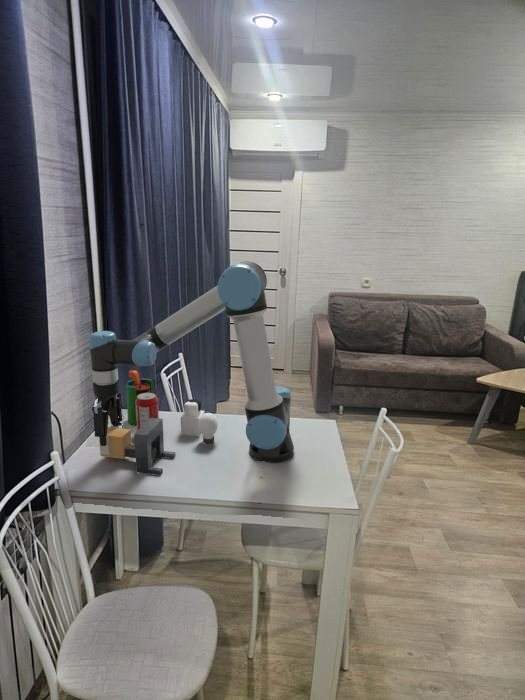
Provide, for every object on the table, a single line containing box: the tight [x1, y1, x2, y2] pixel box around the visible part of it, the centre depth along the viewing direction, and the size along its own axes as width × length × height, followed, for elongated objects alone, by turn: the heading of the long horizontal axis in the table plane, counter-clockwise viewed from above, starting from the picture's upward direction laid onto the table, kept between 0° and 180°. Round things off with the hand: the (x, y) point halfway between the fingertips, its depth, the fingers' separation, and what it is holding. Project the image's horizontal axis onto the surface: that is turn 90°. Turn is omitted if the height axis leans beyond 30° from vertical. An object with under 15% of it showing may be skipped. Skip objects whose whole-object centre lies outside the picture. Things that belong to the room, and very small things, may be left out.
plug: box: [98, 426, 156, 461], centre depth 141 cm, size 17×6×8 cm, turn 80°
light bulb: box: [198, 412, 219, 445], centre depth 155 cm, size 7×7×11 cm
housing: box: [133, 418, 177, 476], centre depth 139 cm, size 8×12×13 cm, turn 169°
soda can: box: [135, 393, 160, 432], centre depth 159 cm, size 8×8×15 cm
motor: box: [125, 369, 154, 427], centre depth 169 cm, size 10×9×20 cm
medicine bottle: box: [180, 398, 206, 437], centre depth 162 cm, size 7×7×12 cm
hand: (110, 448), depth 143 cm, fingers closed on plug, 5 cm apart
